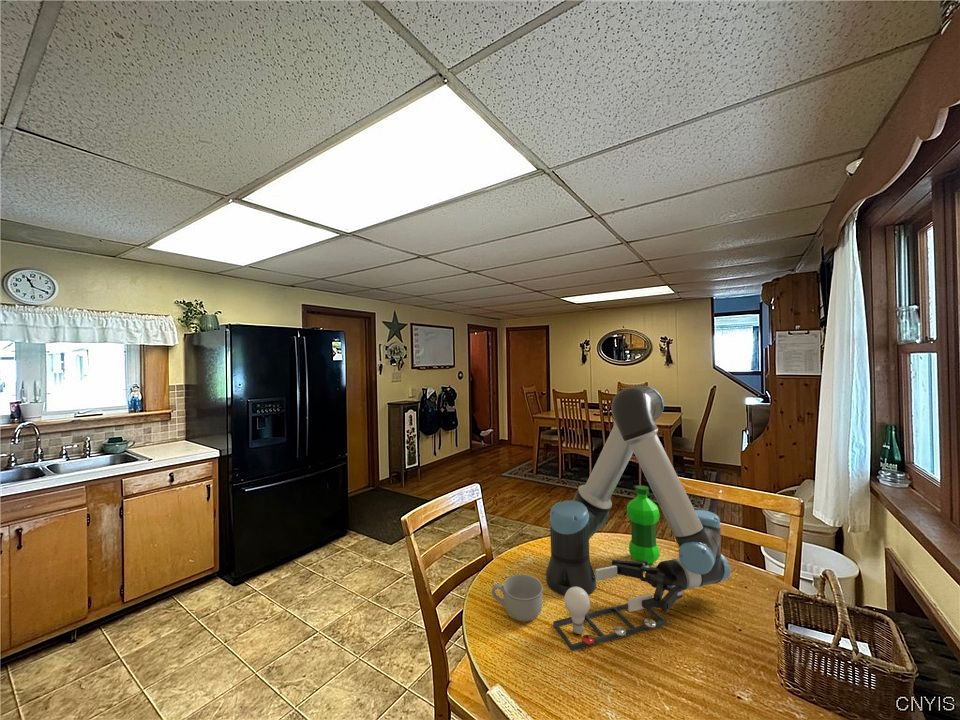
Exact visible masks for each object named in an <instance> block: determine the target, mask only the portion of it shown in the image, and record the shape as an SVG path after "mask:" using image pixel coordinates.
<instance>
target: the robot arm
mask: <svg viewBox="0 0 960 720" xmlns="http://www.w3.org/2000/svg"><path fill="white" fill-rule="evenodd" d="M664 402H665V401H664V398H663V397H662V395H661V394H660V393H659V391H658V390H657V389H655V388H653V387H651V386H649V385H644V384H640V385H639V384H637V385H634V386H632V387H627V388H623V389H621V390H620V391H619V392H617V393H616V394H615V395H614V397H613V399H612V402H611V414H612V417H611V418H612V419H611V420H612V421H613V426H612V429H611V431H610V433H609V436H608V437H607V439H606V441H605V443H604V446H603V447H602V450H601V451H600V453H599V456H598V458H597V460H596V462H595V464H594V467H593V469H592V470H591V473H590V475H589V477H588V478H587V481H586V483H585V484H581V485H579V487H578V489H577V490H576V491H575V495H574V497H573V499H572V500H571V499H568V500H563V501H559V502H556V503H555V504H553V506H552V507H551V508H550V513H549V515H550V516H549V517H548V518H549V530H550V531H549V534H550V536H549V537H550V558H549V561H548V564H547V569H546V570H545V582H546V585H547V586H548V587H549V589H551V590H552V592H554V593H557V594H559V595H561V596H565V593H566V591H567V590H568V589H569V588H571V587H580V588H582V589H584V590H585V591H586V593H587V594H588V596H589V595H590V594H593V592H595V590H596V588H597V581H602V580H606V579H611V578H616V577H618V575H619V576H625V577H630V578H633V579H634V578H635V579H639V580H640V581H641V582H646V583H647V584H649V585H651V587H653V588H655V591H654V593H653V595H652V593H648V594H647V593H646V594H643V595H639V596H634V597H629V598H628V599H627V603H628V609H627V610H628V611H629V612H630V613H631V612H634V611H640V610H643V609H644V610H646V609H649V608H652V609H654V608H656V609H661V611H662V613H668V612H669V610H670V609H671V608H672V607H673V605H674V604H675V603H676V601H678V600H679V599H681V598H683V592H684V591H686V590H690V589H694V588H699V587H705V586H709V585H715V584H716V585H717V584H719V583H721V582H724V581H726V580H728V579H729V578H730V576H731V572H732V570H731V566H730V565H729V561H728V559H727V558H726V556H724V555H723V554H722V553H721V529H722V527H721V519H720V516H718V515H717V514H716V513H714V512H712V511H708V510H703V509H695V508H694V506H693V504H692V502H691V499H690V498H689V496H688V494H687V492H686V490H685V487H684V486H683V484H682V483H681V480H680V479H679V476H678V474H677V472H676V470H675V468H674V466H673V464H672V463H671V460H670V458H669V456H668V455H667V452H666V451H665V449H664V447H663V444H662V442H661V441H660V438H659V436H658V431H659V428H658V426H657V424H656V420H658V419H659V418H660V417H661V416H662V413H663V411H664V408H665V406H664V405H665V403H664ZM633 454H634V455H635V458H636V460H637V461H638V464H639V466H640V468H641V470H642V473H643V474H644V475H643V476H644V477H645V478H646V481H647V483H648V485H649V487H650V489H651V491H652V494H653V496H654V497H655V499H656V502H657V503H658V505H659V507H660V510H661V512H662V514H663V515H664V518H665V520H666V523H667V524H668V526H669V528H670V530H671V533H672V535H673V537H674V538H675V541H676V544H677V546H678V547H679V548H678V557H677V558H673V559H667V560H663V561H660V562H659V563H658V564H657V566H654V567H653V566H650V565H648V562H647V561H640V562H637V561H636V560H621V559H612V560H611V561H612V563H611V565H609V566H604V567H600V568H595V572H594V567H593V565H592V562H591V560H590V559H591V558H590V539H591V538H592V537H593V536H594V535H595V534H596V533H597V532H598V531H599V530H600V529H601V528H603V527H604V525H605V524H606V523H607V521H608V518H609V516H610V515H609V513H610V510H611V509H612V506H613V503H612V500H611V497H612V495H613V493H614V491H615V489H616V487H617V486H618V483H619V482H620V479H621V477H622V476H623V473H624V471H625V469H626V467H628V466H627V465H628V464H629V462H630V460H631V458H632V457H633V456H632V455H633ZM665 591H667V593H666V594H665V595H664V593H665Z"/></svg>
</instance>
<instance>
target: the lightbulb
mask: <svg viewBox="0 0 960 720" xmlns="http://www.w3.org/2000/svg"><path fill="white" fill-rule="evenodd" d="M563 598H564V599H563V601H564V605H565V608H566V609H567V611H568V613H569V615H570V617H571V619H572V622H573V623H572V631H573V632H574V633H575V634H578V635H581V634H583V633H584V626H585V625H584V622H585V620H584V619H585V615H586V614H587V613H589V610H590V607H591V600H590V596H589V595H588V594H587V593H586V591H585V590H584V589H582V588H580V587H571V588H569V589H568V590H567V591H566V593H565V595H564V597H563Z"/></svg>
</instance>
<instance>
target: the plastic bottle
mask: <svg viewBox="0 0 960 720" xmlns="http://www.w3.org/2000/svg"><path fill="white" fill-rule="evenodd" d="M649 490H650V488H649V486H646V485H635V493H636V494H637V496H635V497H634V498H632V499H631V500H630V501H629V502H628V503H627V505H626V514H627V518H628V520H630V524H631V525H630V527H631V539H630V540H629V542H628V549H629V550H628V552H629V554H630V556H631V557H632V558H633V559H634V561H637V562H640V561H647V562H648V566H650V565H652V564H653V563H655V562H656V561H658V560H659V558H660V547H659V545H658V544H657V530H656V528H657V527H656V524H657V523H658V522H659V521H660V511H659V507H658V505H657V504H656V503H655V502H654V501H652V500H651V499H650V498H649V497H648V495H649V494H650V491H649Z"/></svg>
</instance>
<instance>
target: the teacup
mask: <svg viewBox="0 0 960 720" xmlns="http://www.w3.org/2000/svg"><path fill="white" fill-rule="evenodd" d="M543 587H544V586H543V583H542V582H541V581H540V580H539V579H538V578H537V577H535V576H532V575H530V574H524V573H519V574H518V573H517V574H513V575H511V576H508V577H507V578H506V579H505V580H504V582H503V585H502V584H500V583H495V584H494V585H493V586H492V587H491V596H492V597H493V599H494V600H495V601H496V602H498V603H500V605H501V606H502V607H503V608H505V611H506V613H508V615H509V617H511V618H513V619H514V620H517V621H519V622H530V621H533V620H534V619H536V618H538V616H539V615H540V614H541V612H542V608H543V591H544V588H543ZM496 590H500V591H501V594H502V596H503V598H501V597H500V596H499V595H498V594H496Z"/></svg>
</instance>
